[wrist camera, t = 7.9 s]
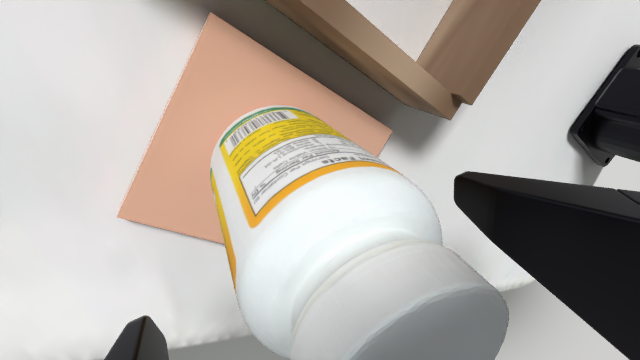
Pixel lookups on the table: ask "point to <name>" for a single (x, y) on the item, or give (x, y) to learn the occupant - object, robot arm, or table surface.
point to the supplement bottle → (342, 250)
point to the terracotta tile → (224, 126)
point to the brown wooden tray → (435, 60)
